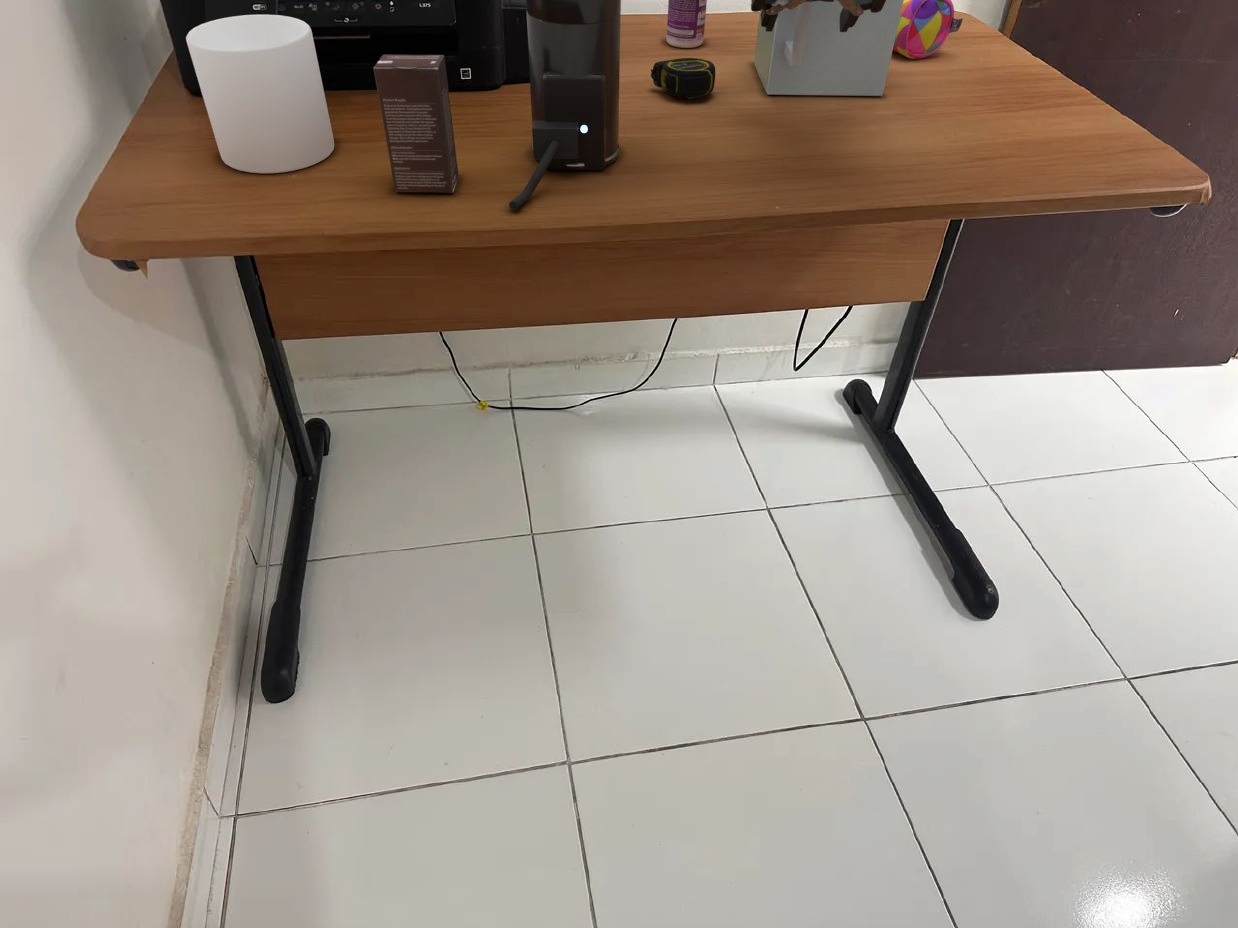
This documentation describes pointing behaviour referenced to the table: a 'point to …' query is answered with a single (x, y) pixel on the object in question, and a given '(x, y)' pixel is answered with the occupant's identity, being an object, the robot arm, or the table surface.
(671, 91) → the tape measure
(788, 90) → the cabinet door
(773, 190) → the table surface
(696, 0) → the pill bottle
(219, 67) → the white cylinder
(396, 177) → the box
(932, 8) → the colorful pencil case
